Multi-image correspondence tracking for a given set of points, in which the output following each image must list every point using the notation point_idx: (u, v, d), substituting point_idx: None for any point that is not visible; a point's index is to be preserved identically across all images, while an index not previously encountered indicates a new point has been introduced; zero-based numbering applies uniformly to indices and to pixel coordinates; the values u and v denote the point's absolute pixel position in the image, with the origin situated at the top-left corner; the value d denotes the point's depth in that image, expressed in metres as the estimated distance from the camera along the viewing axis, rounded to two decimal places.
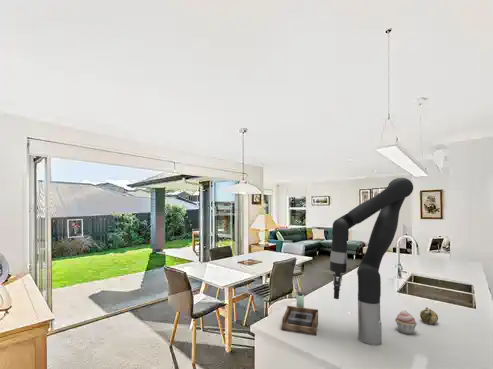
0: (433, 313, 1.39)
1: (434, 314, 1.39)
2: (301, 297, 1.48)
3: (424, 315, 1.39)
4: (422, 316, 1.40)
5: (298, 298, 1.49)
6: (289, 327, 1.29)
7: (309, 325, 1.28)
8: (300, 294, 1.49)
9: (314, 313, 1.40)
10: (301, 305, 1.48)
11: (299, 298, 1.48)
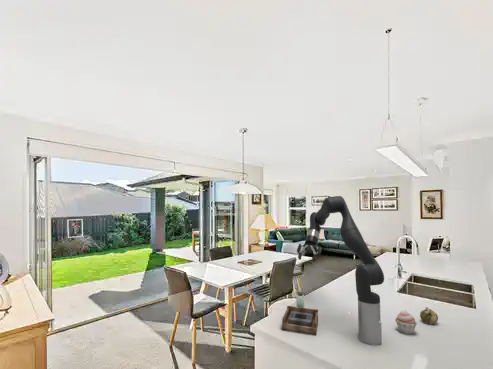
0: (433, 313, 1.39)
1: (434, 314, 1.39)
2: (301, 297, 1.48)
3: (424, 315, 1.39)
4: (422, 316, 1.40)
5: (298, 298, 1.49)
6: (289, 327, 1.29)
7: (309, 325, 1.28)
8: (300, 294, 1.49)
9: (314, 313, 1.40)
10: (301, 305, 1.48)
11: (299, 298, 1.48)
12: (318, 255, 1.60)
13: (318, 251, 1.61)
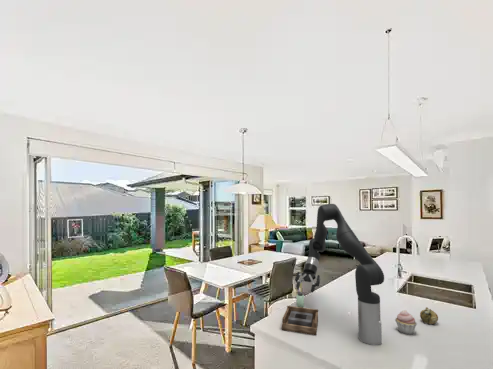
0: (433, 313, 1.39)
1: (434, 314, 1.39)
2: (301, 297, 1.48)
3: (424, 315, 1.39)
4: (422, 316, 1.40)
5: (298, 298, 1.49)
6: (289, 327, 1.29)
7: (309, 325, 1.28)
8: (300, 294, 1.49)
9: (314, 313, 1.40)
10: (301, 305, 1.48)
11: (299, 298, 1.48)
12: (317, 285, 1.55)
13: (317, 281, 1.56)
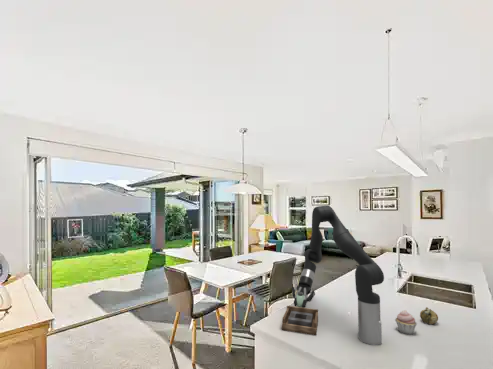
0: (433, 313, 1.39)
1: (434, 314, 1.39)
2: (301, 297, 1.48)
3: (424, 315, 1.39)
4: (422, 316, 1.40)
5: (298, 298, 1.49)
6: (289, 327, 1.29)
7: (309, 325, 1.28)
8: (300, 294, 1.49)
9: (314, 313, 1.40)
10: (301, 305, 1.48)
11: (299, 298, 1.48)
12: (308, 300, 1.49)
13: (309, 296, 1.49)
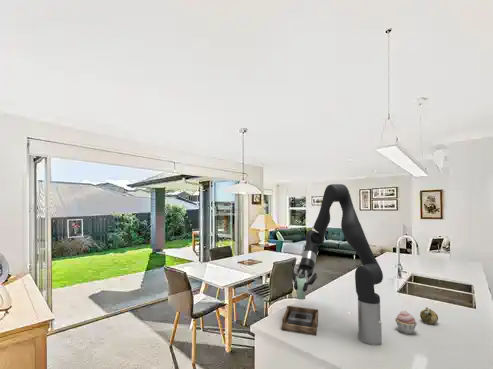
0: (433, 313, 1.39)
1: (434, 314, 1.39)
2: (302, 279, 1.35)
3: (424, 315, 1.39)
4: (422, 316, 1.40)
5: (299, 281, 1.36)
6: (289, 327, 1.29)
7: (309, 325, 1.28)
8: (301, 276, 1.36)
9: (314, 313, 1.40)
10: (302, 288, 1.35)
11: (300, 281, 1.35)
12: (310, 283, 1.36)
13: (311, 279, 1.36)
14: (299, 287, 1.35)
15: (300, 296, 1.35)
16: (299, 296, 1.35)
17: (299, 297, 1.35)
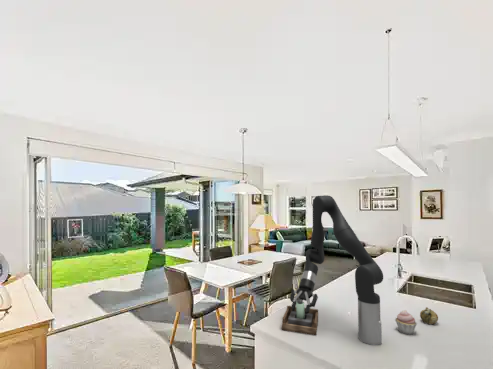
0: (433, 313, 1.39)
1: (434, 314, 1.39)
2: (301, 305, 1.33)
3: (424, 315, 1.39)
4: (422, 316, 1.40)
5: (298, 306, 1.34)
6: (289, 327, 1.29)
7: (309, 325, 1.28)
8: (300, 302, 1.34)
9: (314, 313, 1.40)
10: (301, 314, 1.33)
11: (299, 307, 1.33)
12: (312, 306, 1.34)
13: (312, 301, 1.34)
14: (298, 313, 1.34)
15: None
16: None
17: None
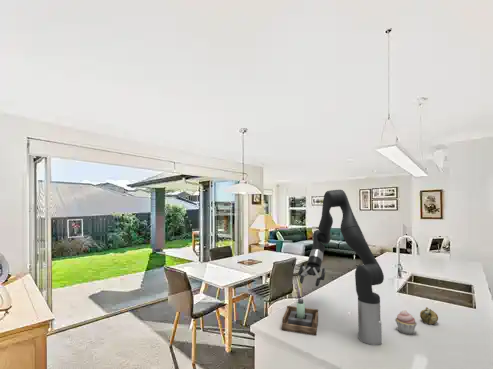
0: (433, 313, 1.39)
1: (434, 314, 1.39)
2: (301, 305, 1.34)
3: (424, 315, 1.39)
4: (422, 316, 1.40)
5: (298, 306, 1.34)
6: (289, 327, 1.29)
7: (309, 325, 1.28)
8: (301, 302, 1.34)
9: (314, 313, 1.40)
10: (302, 314, 1.33)
11: (300, 307, 1.34)
12: (322, 279, 1.45)
13: (322, 274, 1.46)
14: (299, 313, 1.34)
15: None
16: None
17: None
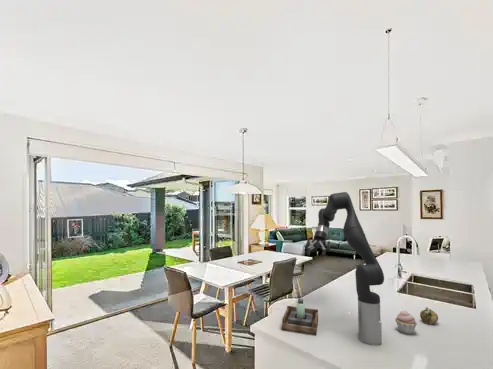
0: (433, 313, 1.39)
1: (434, 314, 1.39)
2: (301, 305, 1.34)
3: (424, 315, 1.39)
4: (422, 316, 1.40)
5: (298, 306, 1.34)
6: (289, 327, 1.29)
7: (309, 325, 1.28)
8: (301, 302, 1.35)
9: (314, 313, 1.40)
10: (302, 314, 1.33)
11: (300, 307, 1.34)
12: (327, 250, 1.58)
13: (327, 246, 1.59)
14: (299, 313, 1.34)
15: None
16: None
17: None
